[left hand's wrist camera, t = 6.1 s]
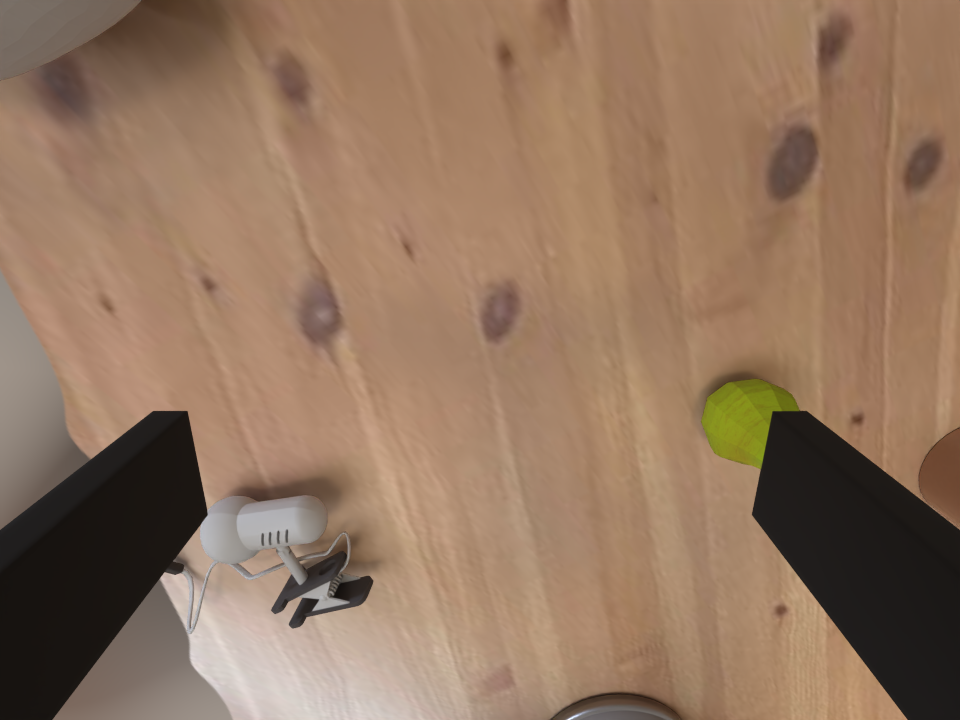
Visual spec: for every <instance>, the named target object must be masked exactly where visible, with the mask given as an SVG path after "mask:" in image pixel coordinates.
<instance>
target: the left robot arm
mask: <svg viewBox="0 0 960 720" xmlns="http://www.w3.org/2000/svg"><path fill="white" fill-rule="evenodd" d="M207 516H208V512H207V507H206V502H205V497H204V492H203V487H202V482H201V477H200V472H199V467H198V462H197V456H196V451H195V446H194V441H193V436H192V431H191V426H190V421H189V416H188V411H153V412H152V413H150V414H149V415H148V416H146V417H145V418H144V419H143V420H141V421H140V422H139V423H137V424H136V425H135V426H134V427H132V428H131V429H130V430H128V431H127V432H126V433H124V434H123V435H122V436H121V437H119V438H118V439H117V440H115V441H114V442H113V443H112V444H110V445H109V446H108V447H106V448H105V449H104V450H103V451H101V452H100V453H99V454H97V455H96V456H95V457H94V458H92V459H91V460H90V461H89V462H87V463H86V464H85V465H83V466H82V467H81V468H79V469H78V470H77V471H76V472H74V473H73V474H72V475H70V476H69V477H68V478H67V479H65V480H64V481H63V482H62V483H60V484H59V485H58V486H56V487H55V488H54V489H53V490H51V491H50V492H49V493H47V494H46V495H45V496H43V497H42V498H41V499H40V500H38V501H37V502H36V503H34V504H33V505H32V506H31V507H29V508H28V509H27V510H25V511H24V512H23V513H22V514H20V515H19V516H18V517H16V518H15V519H14V520H13V521H11V522H10V523H9V524H7V525H6V526H5V527H4V528H2V529H1V530H0V720H52V719H53V718H54V717H55V715H56V714H57V713H58V711H59V710H60V709H61V708H62V706H63V705H64V704H65V702H66V701H67V700H68V698H69V697H70V696H71V694H72V693H73V692H74V690H75V689H76V688H77V687H78V685H79V684H80V682H81V681H82V680H83V679H84V677H85V676H86V675H87V673H88V672H89V671H90V669H91V668H92V667H93V665H94V664H95V663H96V662H97V660H98V659H99V658H100V656H101V655H102V654H103V652H104V651H105V650H106V648H107V647H108V646H109V644H110V643H111V642H112V640H113V639H114V638H115V637H116V635H117V634H118V633H119V631H120V630H121V629H122V627H123V626H124V625H125V623H126V622H127V621H128V619H129V618H130V617H131V616H132V614H133V613H134V612H135V610H136V609H137V608H138V606H139V605H140V604H141V602H142V601H143V600H144V598H145V597H146V596H147V594H148V593H149V592H150V591H151V589H152V588H153V586H154V585H155V584H156V583H157V581H158V580H159V579H160V577H161V576H162V575H163V573H164V572H165V571H166V569H167V568H168V567H169V566H170V564H171V563H172V562H173V560H174V559H175V558H176V556H177V555H178V554H179V552H180V551H181V550H182V548H183V547H184V546H185V545H186V543H187V542H188V541H189V539H190V538H191V537H192V535H193V534H194V533H195V531H196V530H197V529H198V527H199V526H200V525H201V523H202V522H203V521H204V520H205V518H206V517H207ZM752 516H753V517H754V518H755V520H756V521H757V522H758V523H759V525H760V526H761V527H762V529H763V530H764V531H765V533H766V534H767V535H768V537H769V538H770V539H771V541H772V542H773V543H774V545H775V546H776V547H777V548H778V550H779V551H780V552H781V554H782V555H783V556H784V558H785V559H786V560H787V562H788V563H789V564H790V566H791V567H792V568H793V569H794V571H795V572H796V573H797V575H798V576H799V577H800V579H801V580H802V581H803V583H804V584H805V585H806V587H807V588H808V589H809V591H810V592H811V593H812V594H813V596H814V597H815V598H816V600H817V601H818V602H819V604H820V605H821V606H822V608H823V609H824V610H825V612H826V613H827V614H828V616H829V617H830V618H831V619H832V621H833V622H834V623H835V625H836V626H837V627H838V629H839V630H840V631H841V633H842V634H843V635H844V637H845V638H846V639H847V641H848V642H849V643H850V644H851V646H852V647H853V648H854V650H855V651H856V652H857V654H858V655H859V656H860V658H861V659H862V660H863V662H864V663H865V664H866V665H867V667H868V668H869V669H870V671H871V672H872V673H873V675H874V676H875V677H876V679H877V680H878V681H879V683H880V684H881V685H882V687H883V688H884V689H885V690H886V692H887V693H888V694H889V696H890V697H891V698H892V700H893V701H894V702H895V704H896V705H897V706H898V708H899V709H900V710H901V712H902V713H903V714H904V715H905V717H906V718H907V719H908V720H960V530H959V529H958V528H956V527H955V526H954V525H953V524H951V523H950V522H949V521H947V520H946V519H945V518H944V517H942V516H941V515H940V514H938V513H937V512H936V511H935V510H933V509H932V508H931V507H929V506H928V505H927V504H926V503H924V502H923V501H922V500H920V499H919V498H918V497H917V496H915V495H914V494H913V493H911V492H910V491H909V490H908V489H906V488H905V487H904V486H902V485H901V484H900V483H899V482H897V481H896V480H895V479H893V478H892V477H891V476H890V475H888V474H887V473H886V472H884V471H883V470H882V469H881V468H879V467H878V466H877V465H875V464H874V463H873V462H872V461H870V460H869V459H868V458H866V457H865V456H864V455H863V454H861V453H860V452H859V451H857V450H856V449H855V448H854V447H852V446H851V445H850V444H848V443H847V442H846V441H845V440H843V439H842V438H841V437H839V436H838V435H837V434H836V433H834V432H833V431H832V430H830V429H829V428H828V427H826V426H825V425H824V424H823V423H821V422H820V421H819V420H817V419H816V418H815V417H814V416H812V415H811V414H810V413H808V412H807V411H772V416H771V421H770V426H769V431H768V436H767V441H766V446H765V451H764V456H763V462H762V467H761V472H760V477H759V482H758V487H757V492H756V497H755V502H754V507H753V512H752ZM552 720H681V719H680V717H679V716H678V715H677V714H676V713H675V712H674V711H672V710H671V709H669V708H668V707H666V706H665V705H663V704H661V703H659V702H657V701H654V700H651V699H648V698H644V697H640V696H634V695H621V694H619V695H605V696H599V697H594V698H590V699H587V700H584V701H581V702H579V703H576V704H574V705H572V706H570V707H568V708H567V709H565V710H563V711H562V712H561V713H559V714H558V715H557V716H555V717H554V718H553V719H552Z"/></svg>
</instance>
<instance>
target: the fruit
mask: <svg viewBox="0 0 960 720" xmlns="http://www.w3.org/2000/svg"><path fill="white" fill-rule="evenodd" d="M772 411H800V410H799V408H798V405H797V403H796V401H795V399H794V397H793V396H792V394H790V393H789V392H787V391H786V390H785V389H783V388H780V387H778V386H775V385H773V384H770V383H768V382H765V381H763V380H761V379H749V380H742V381H735V382H729V383H726V384H725V385H724V386H722V387H721V388H719V389H718V390H717V391H715V392H714V393H713V394H711V395H710V396H709V397H708V398H707V402H706V405H705V409H704V413H703V416H702V420H701V423H702V425H703V428H704V430H705V433H706V436H707V438H708V441H709V444H710V446H711V448H712V449H713V451H714V453H715V454H717V455H718V456H720V457H722V458H726V459H729V460H732V461H735V462H738V463H742V464H746V465H752V466H754V467H757V468H759V469H761V467H762V462H763V456H764V451H765V446H766V441H767V436H768V431H769V426H770V421H771V416H772Z"/></svg>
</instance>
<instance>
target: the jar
mask: <svg viewBox="0 0 960 720" xmlns="http://www.w3.org/2000/svg"><path fill="white" fill-rule="evenodd" d="M919 485H920V490H921V493H922V495H923V497H924V498H925V500H926V501H927V502H928V503H929V504H930V505H931V506H932V507H934V508H935V509H936V510H938V511H939V512H940V513H941V514H943V515H944V516H945V517H947V518H948V519H949V520H951V521H952V522H953V523H954V524H956V525H957V526H958V527H960V428H959V429H957V430H955V431H953V432H951V433H950V434H948V435H947V436H945V437H944V438H943V439H941V440H940V441H939V442H938V443H937V444H936V445H935V446H934V447H933V448H932V450H931V451H930V452H929V454H928V455H927V457H926V458H925V460H924V462H923V464H922V467H921V470H920V475H919Z"/></svg>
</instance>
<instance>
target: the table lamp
mask: <svg viewBox="0 0 960 720" xmlns="http://www.w3.org/2000/svg"><path fill="white" fill-rule="evenodd" d="M141 1H142V0H0V80H4V79H8V78H11V77H14V76H17V75H20V74H23V73H26V72H28V71H30V70H33V69H35V68H37V67H40V66H42V65H44V64H46V63H49V62H51V61H53V60H55V59H57V58H59V57H61V56H62V55H64V54H66V53H68V52H70V51H72V50H74V49H75V48H77V47H79V46H81V45H83V44H85V43H86V42H88V41H90V40H91V39H93V38H95V37H96V36H98V35H100V34H101V33H103V32H104V31H106V30H107V29H109V28H110V27H112V26H113V25H115V24H116V23H117V22H118V21H120V20H121V19H122V18H123V17H124V16H126V15H127V14H128V13H129V12H131V11H132V10H133V9H134V8H135V7H136V6H137V5H138V4H139V3H140V2H141Z"/></svg>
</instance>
